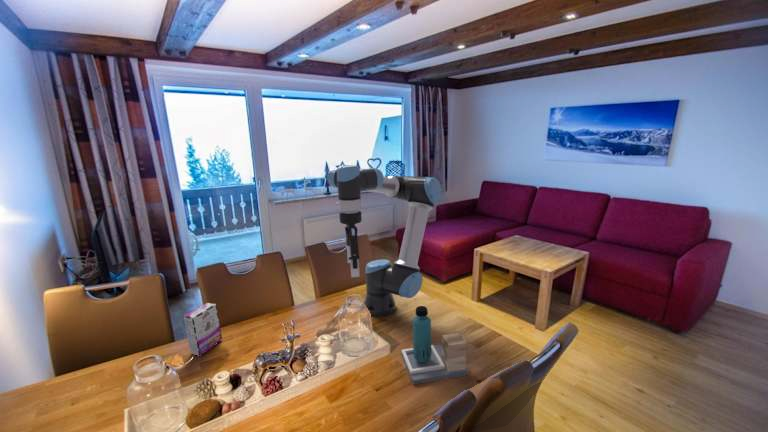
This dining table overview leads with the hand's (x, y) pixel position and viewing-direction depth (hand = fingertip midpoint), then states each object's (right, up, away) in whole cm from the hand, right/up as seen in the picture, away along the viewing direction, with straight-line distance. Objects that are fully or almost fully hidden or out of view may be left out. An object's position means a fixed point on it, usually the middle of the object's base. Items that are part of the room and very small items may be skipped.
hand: (353, 269), depth 118 cm
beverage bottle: (+24, -32, -2) cm, 40 cm away
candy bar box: (-59, -33, +12) cm, 68 cm away
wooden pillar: (+35, -32, -5) cm, 48 cm away
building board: (+28, -33, -2) cm, 43 cm away
